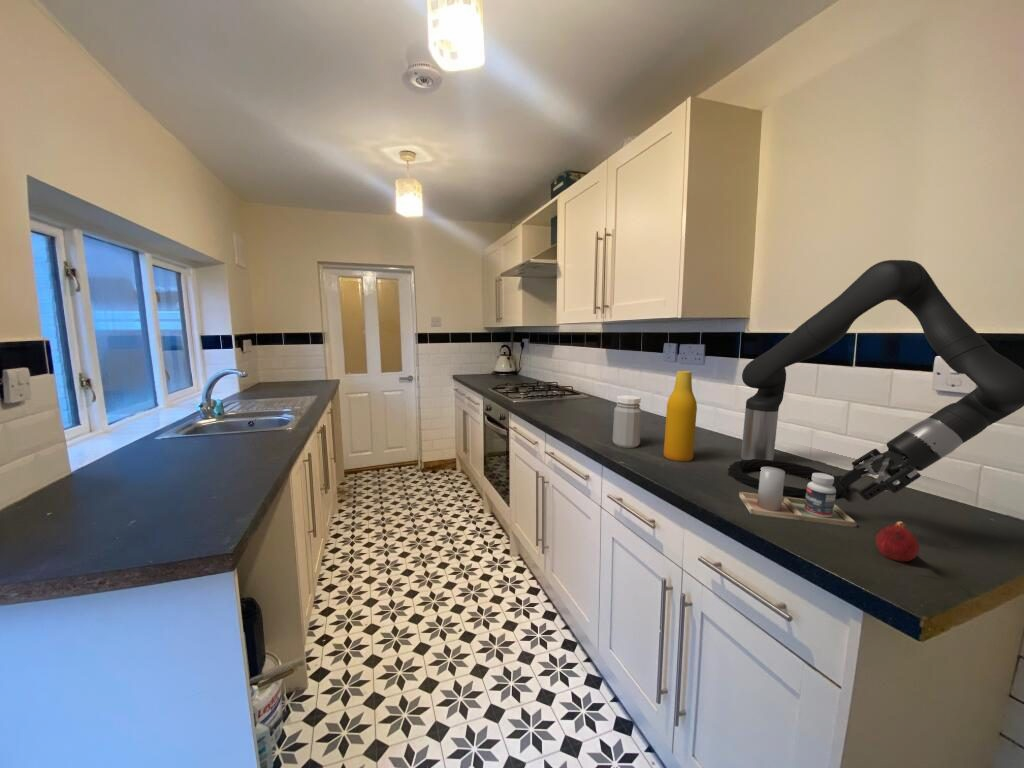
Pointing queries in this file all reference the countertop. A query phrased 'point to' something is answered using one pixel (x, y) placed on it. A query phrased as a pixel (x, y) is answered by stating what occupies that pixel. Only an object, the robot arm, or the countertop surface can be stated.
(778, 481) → the grey tube
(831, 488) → the pill bottle
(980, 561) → the countertop surface
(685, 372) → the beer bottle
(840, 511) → the divided tray
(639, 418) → the jar
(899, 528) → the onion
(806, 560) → the countertop surface
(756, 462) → the cable lock
